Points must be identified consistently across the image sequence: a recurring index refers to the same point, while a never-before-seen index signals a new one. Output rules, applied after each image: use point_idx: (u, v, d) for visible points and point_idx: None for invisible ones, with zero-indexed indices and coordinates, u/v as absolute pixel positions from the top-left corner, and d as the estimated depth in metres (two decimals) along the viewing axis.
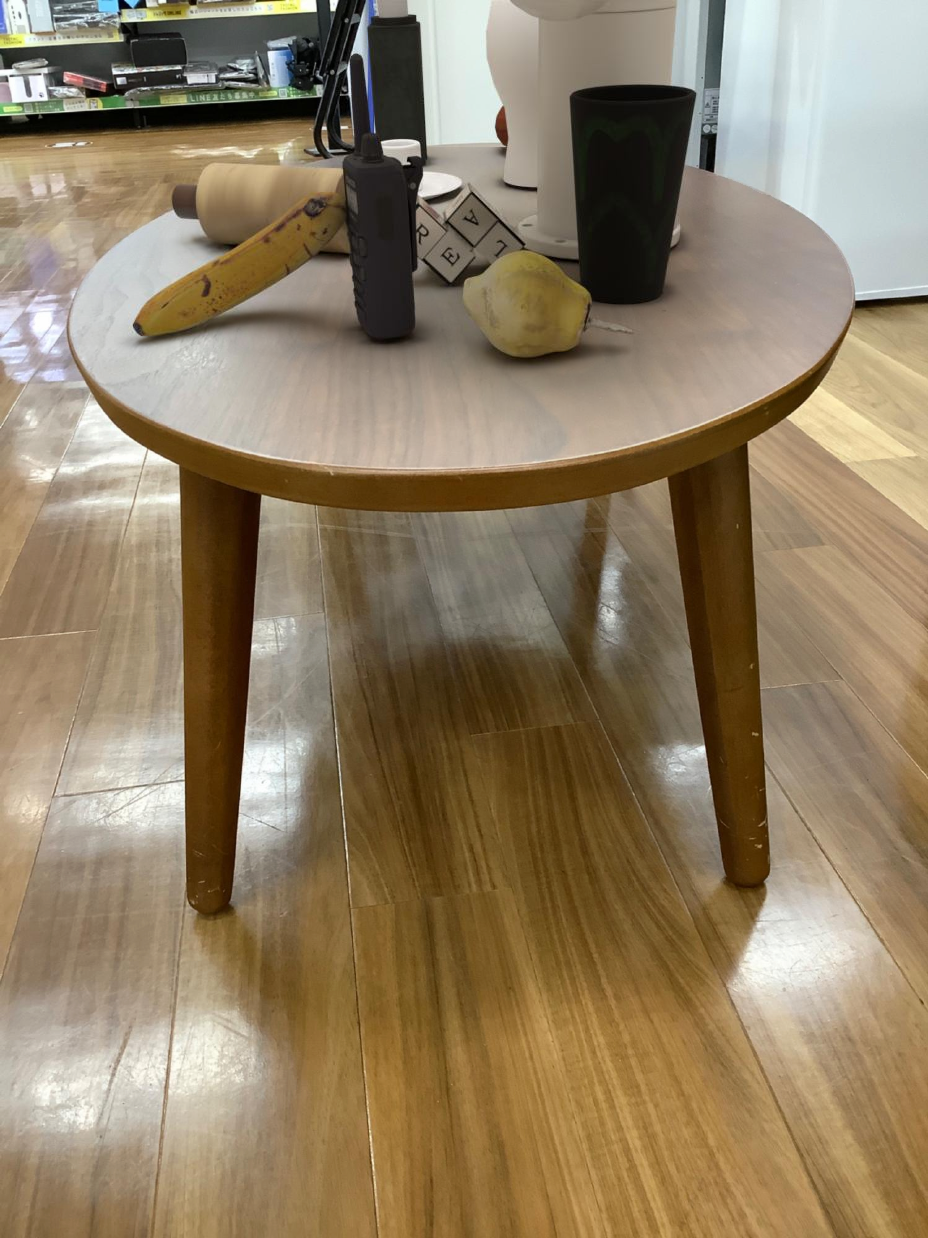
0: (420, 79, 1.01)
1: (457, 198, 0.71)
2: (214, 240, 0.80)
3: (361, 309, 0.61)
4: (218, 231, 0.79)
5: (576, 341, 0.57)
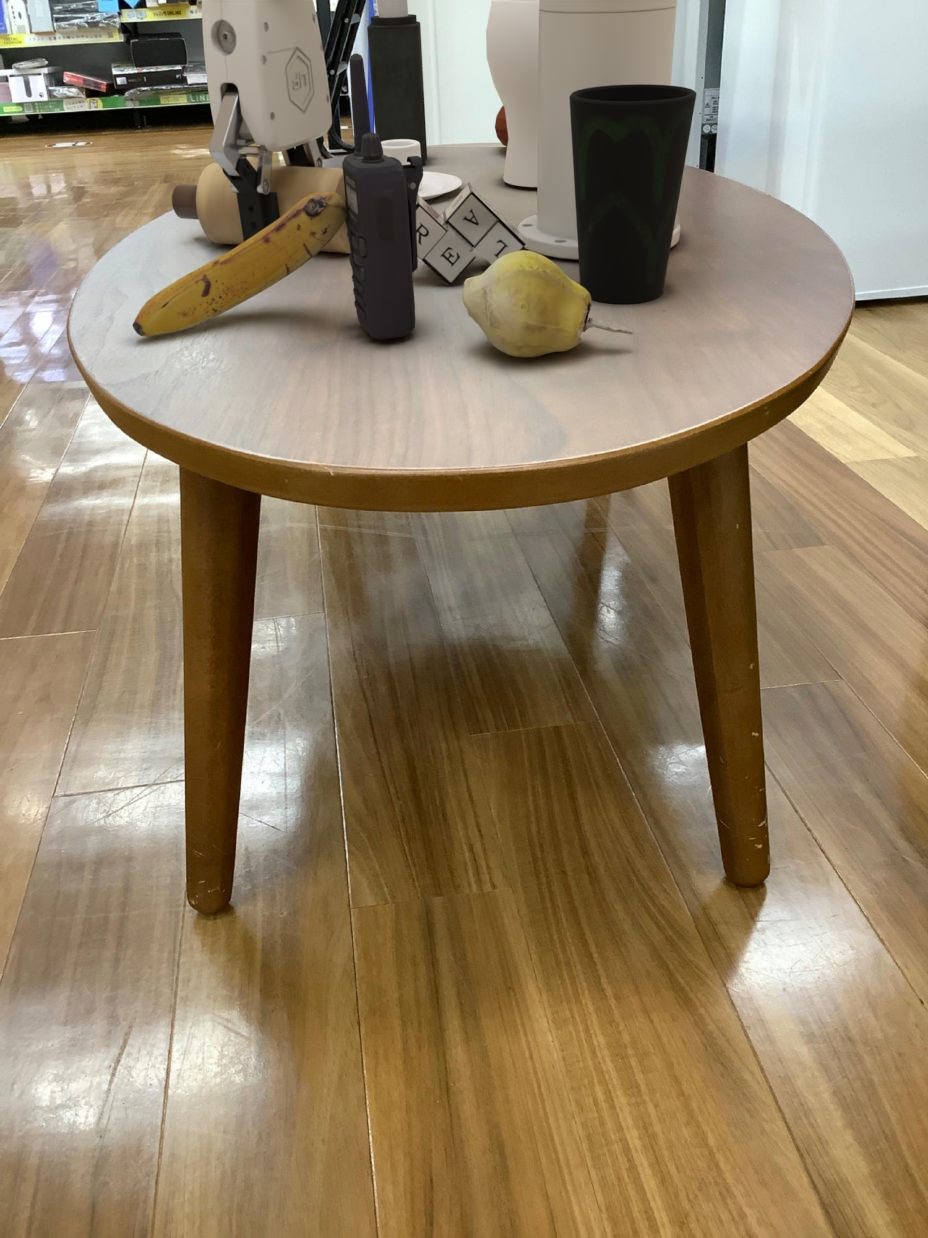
0: (420, 79, 1.01)
1: (457, 198, 0.71)
2: (213, 239, 0.80)
3: (361, 309, 0.61)
4: (217, 230, 0.79)
5: (576, 341, 0.57)
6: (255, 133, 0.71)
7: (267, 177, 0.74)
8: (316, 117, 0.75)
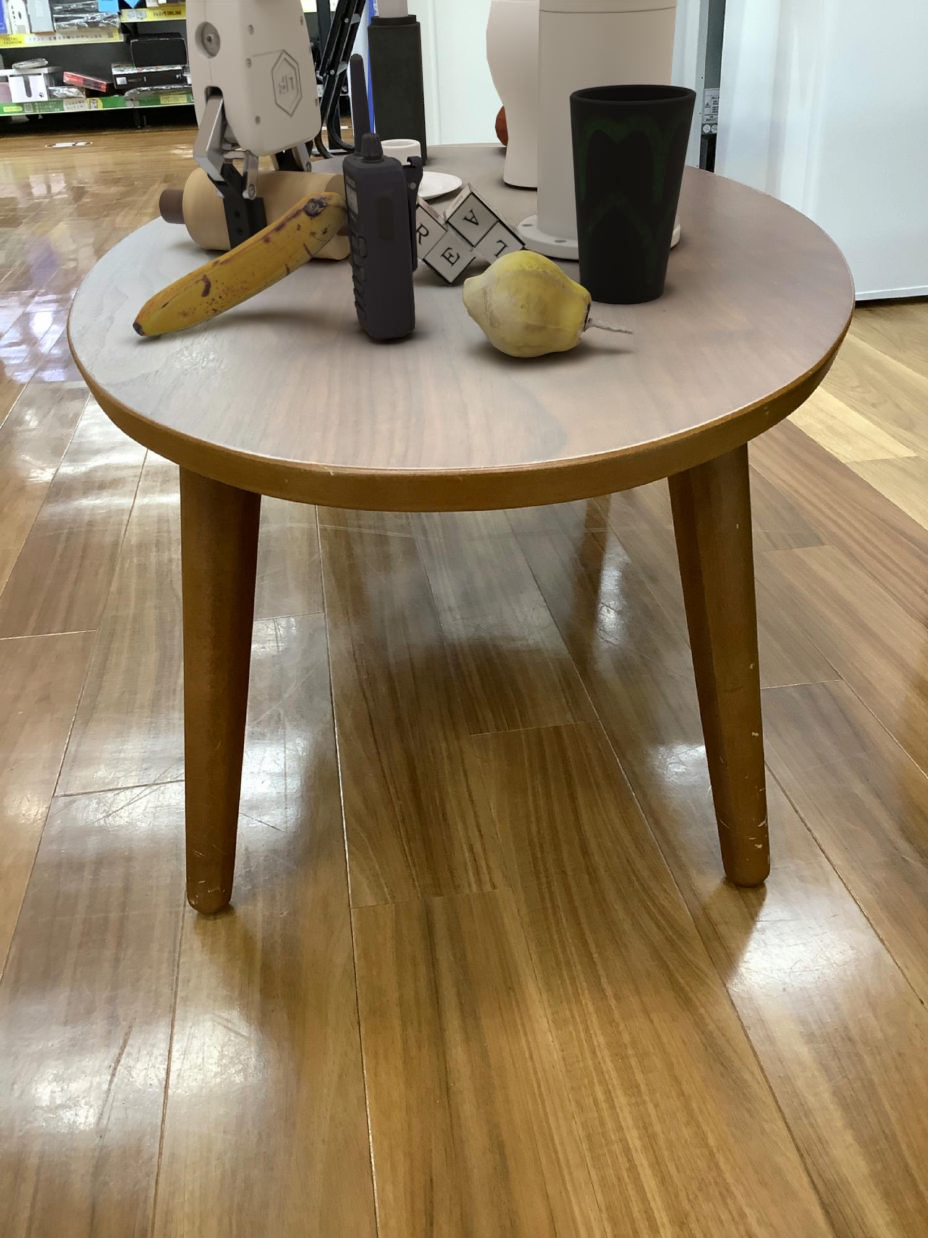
0: (420, 79, 1.01)
1: (457, 198, 0.71)
2: (200, 245, 0.79)
3: (361, 309, 0.61)
4: (204, 235, 0.77)
5: (576, 341, 0.57)
6: (240, 137, 0.69)
7: (253, 182, 0.72)
8: (304, 121, 0.74)
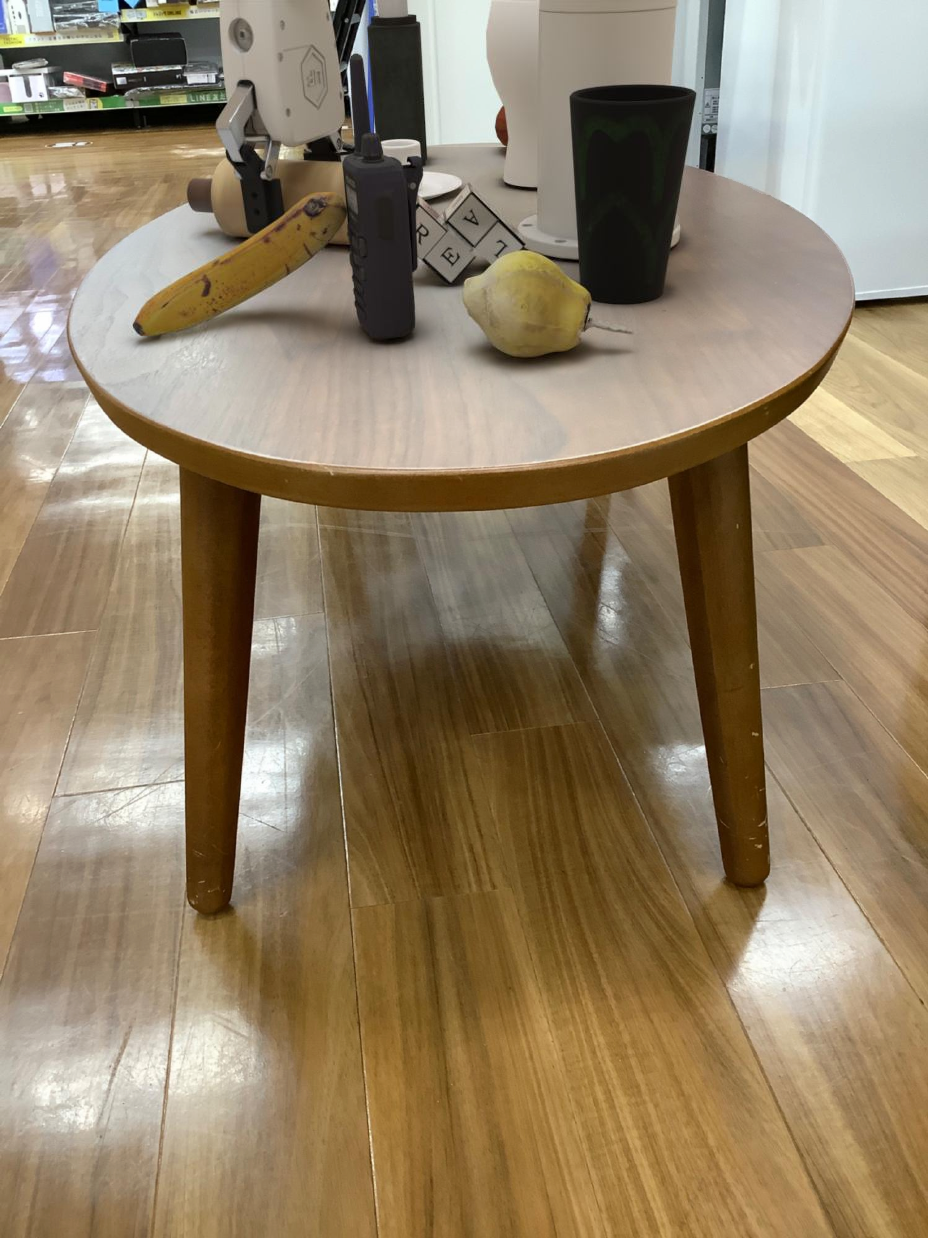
0: (420, 79, 1.01)
1: (457, 198, 0.71)
2: (226, 231, 0.82)
3: (361, 309, 0.61)
4: (231, 221, 0.80)
5: (576, 341, 0.57)
6: (271, 129, 0.72)
7: (272, 165, 0.74)
8: (330, 113, 0.77)
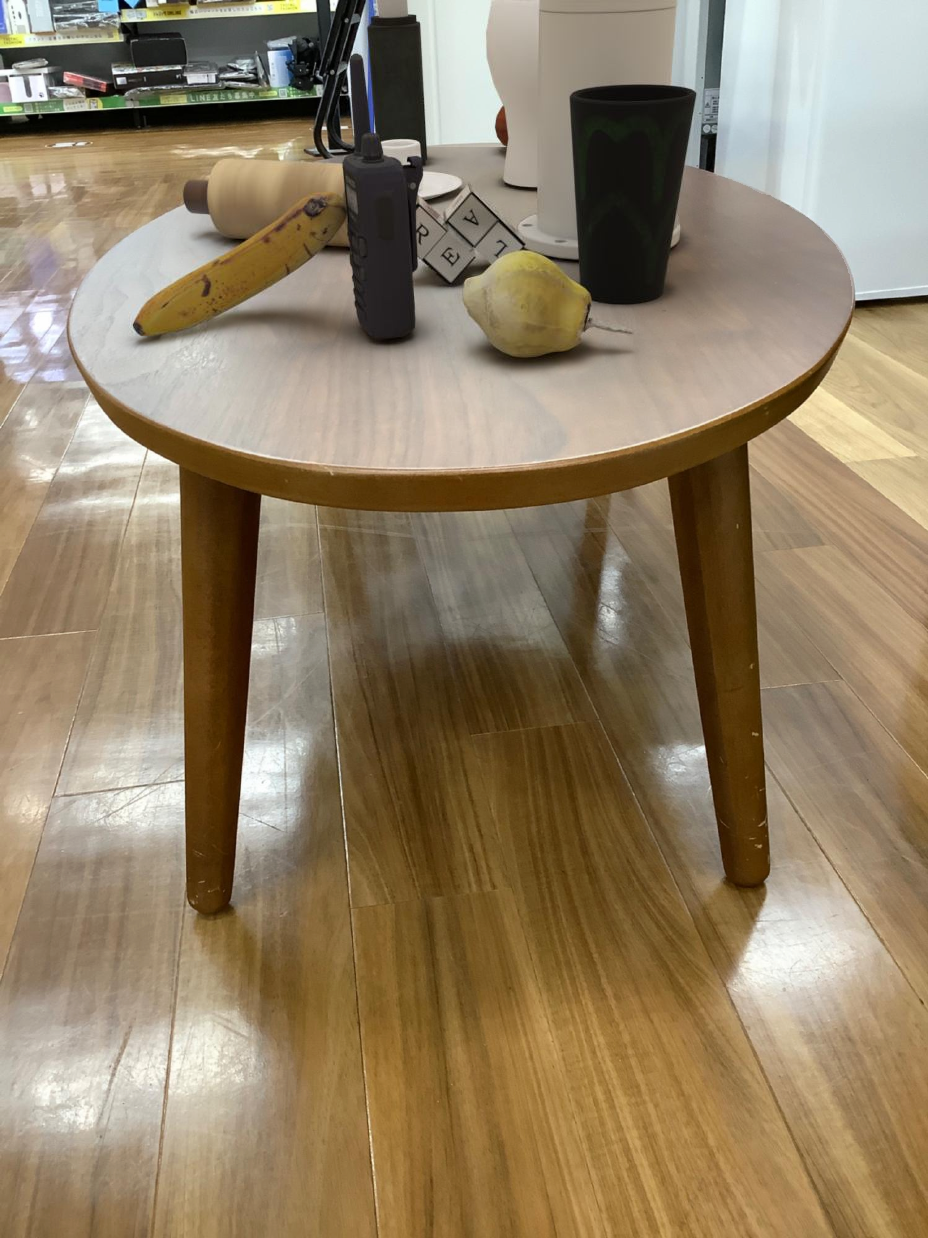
0: (420, 79, 1.01)
1: (457, 198, 0.71)
2: (226, 236, 0.82)
3: (361, 309, 0.61)
4: (230, 228, 0.80)
5: (576, 341, 0.57)
6: None
7: None
8: None
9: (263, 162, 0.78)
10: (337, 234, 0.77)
